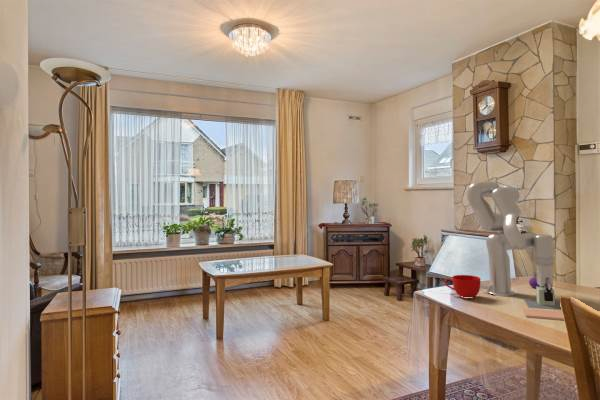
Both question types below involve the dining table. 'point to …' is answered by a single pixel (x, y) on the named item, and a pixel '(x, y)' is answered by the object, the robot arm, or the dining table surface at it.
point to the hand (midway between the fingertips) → (546, 298)
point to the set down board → (543, 314)
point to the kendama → (533, 282)
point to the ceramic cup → (465, 285)
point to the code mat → (535, 305)
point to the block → (540, 297)
